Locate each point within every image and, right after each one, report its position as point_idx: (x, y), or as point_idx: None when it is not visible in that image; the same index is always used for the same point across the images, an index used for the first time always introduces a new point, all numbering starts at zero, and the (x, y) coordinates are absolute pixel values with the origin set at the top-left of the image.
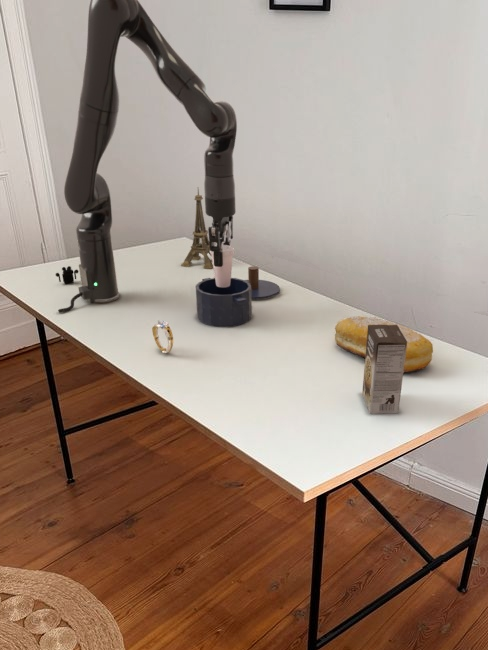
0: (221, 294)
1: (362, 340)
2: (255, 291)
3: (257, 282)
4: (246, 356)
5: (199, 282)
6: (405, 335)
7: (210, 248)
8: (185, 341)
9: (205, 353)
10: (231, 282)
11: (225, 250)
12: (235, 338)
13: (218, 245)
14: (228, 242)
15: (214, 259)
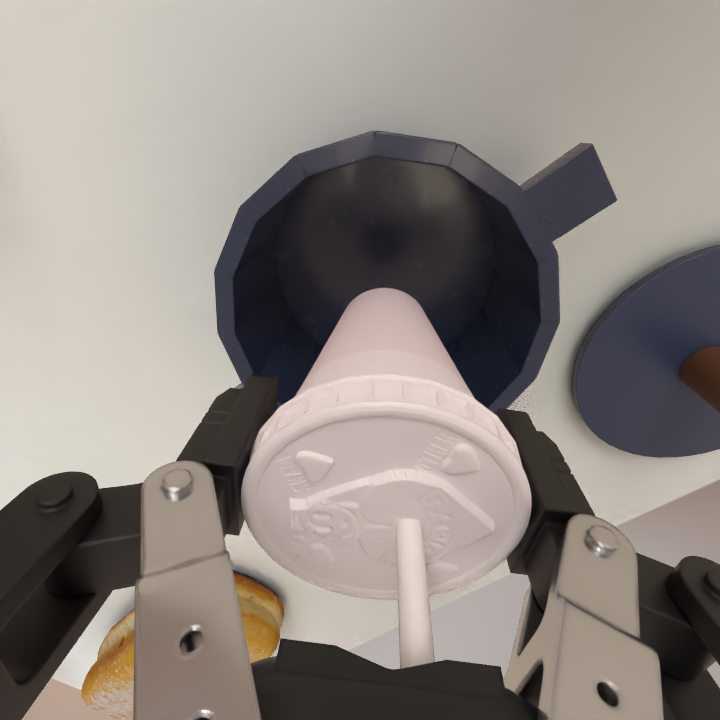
0: (508, 262)
1: (126, 642)
2: (652, 377)
3: (705, 400)
4: (53, 380)
5: (452, 149)
6: (128, 712)
7: (12, 509)
8: (67, 133)
9: (2, 246)
10: (520, 344)
11: (311, 547)
12: (176, 335)
13: (5, 633)
14: (529, 589)
15: (203, 418)
